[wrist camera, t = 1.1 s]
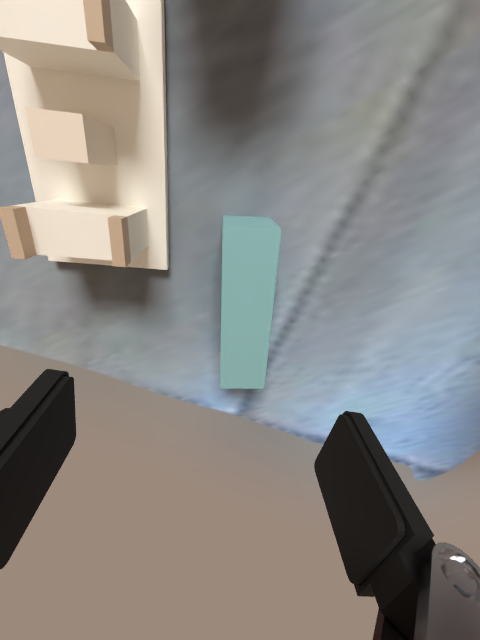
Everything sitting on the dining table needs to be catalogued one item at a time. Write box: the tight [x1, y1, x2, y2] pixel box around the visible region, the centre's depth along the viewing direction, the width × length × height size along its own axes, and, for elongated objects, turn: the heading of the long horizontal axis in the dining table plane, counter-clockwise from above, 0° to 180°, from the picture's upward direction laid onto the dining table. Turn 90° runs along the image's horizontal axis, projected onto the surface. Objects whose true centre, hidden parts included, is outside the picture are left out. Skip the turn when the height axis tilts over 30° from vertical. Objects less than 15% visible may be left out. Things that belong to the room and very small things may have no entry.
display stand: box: [0, 0, 169, 270], centre depth 18 cm, size 10×18×7 cm, turn 175°
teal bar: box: [220, 215, 282, 389], centre depth 25 cm, size 4×14×6 cm, turn 177°
